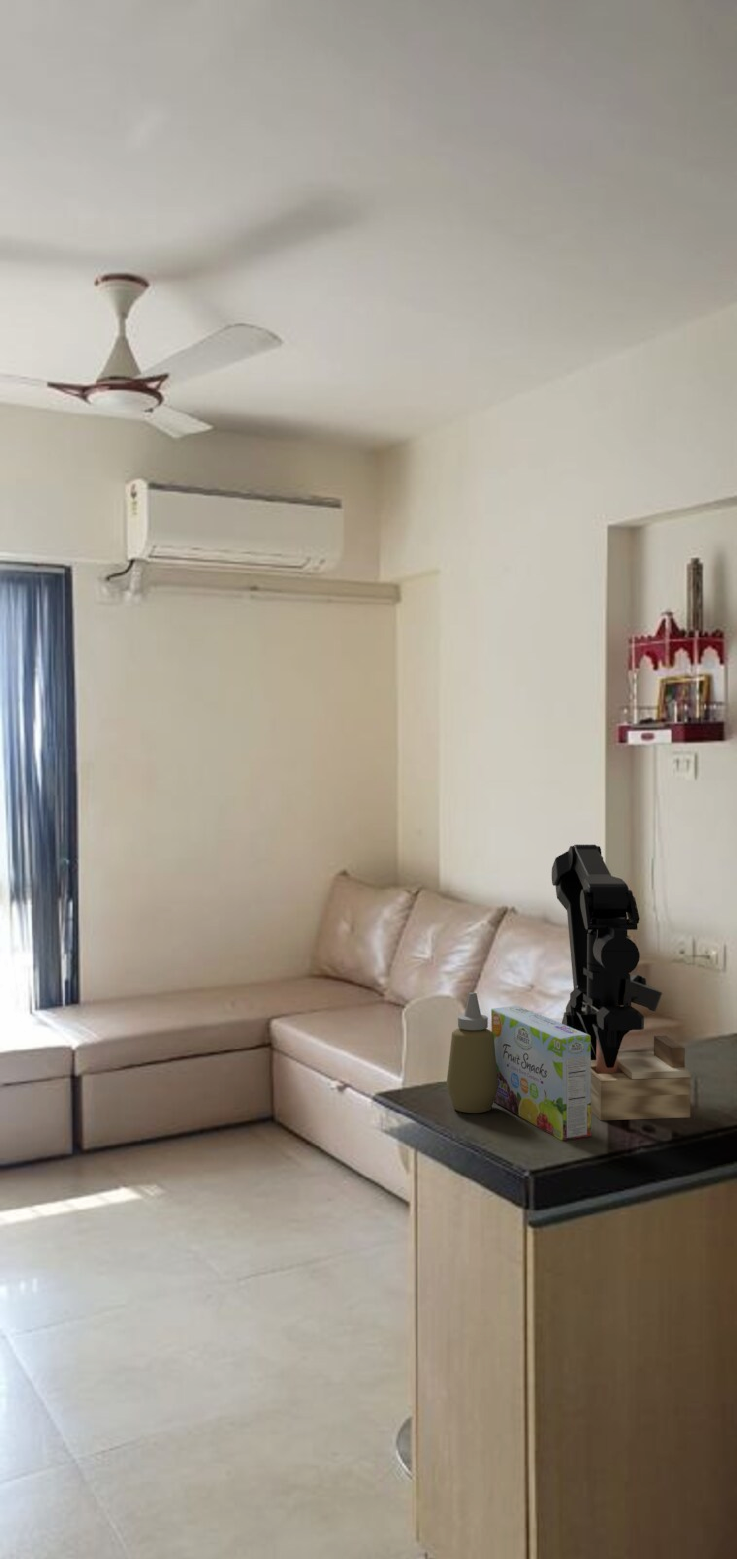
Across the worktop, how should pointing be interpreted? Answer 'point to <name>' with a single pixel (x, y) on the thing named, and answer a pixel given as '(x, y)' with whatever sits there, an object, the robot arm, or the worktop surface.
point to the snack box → (543, 1071)
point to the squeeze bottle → (472, 1062)
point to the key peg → (603, 1063)
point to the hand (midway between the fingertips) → (604, 1063)
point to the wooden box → (638, 1096)
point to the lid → (655, 1061)
